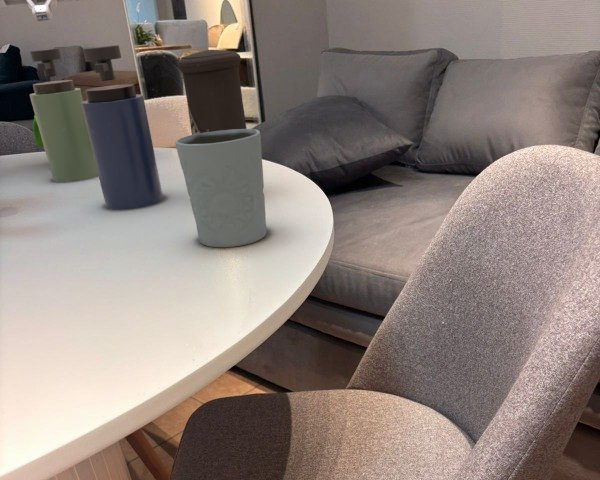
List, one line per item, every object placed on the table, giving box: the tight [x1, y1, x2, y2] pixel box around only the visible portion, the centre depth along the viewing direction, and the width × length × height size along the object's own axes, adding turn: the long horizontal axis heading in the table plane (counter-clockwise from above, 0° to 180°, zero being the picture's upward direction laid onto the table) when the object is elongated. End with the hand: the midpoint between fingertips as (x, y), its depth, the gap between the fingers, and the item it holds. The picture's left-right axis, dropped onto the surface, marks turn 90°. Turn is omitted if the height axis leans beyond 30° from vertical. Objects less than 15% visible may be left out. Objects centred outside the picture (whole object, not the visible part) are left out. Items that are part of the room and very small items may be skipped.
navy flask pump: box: [82, 44, 122, 82], centre depth 90 cm, size 8×5×4 cm, turn 7°
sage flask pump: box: [29, 47, 62, 78], centre depth 112 cm, size 8×5×4 cm, turn 7°
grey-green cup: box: [174, 128, 268, 248], centre depth 78 cm, size 10×10×12 cm
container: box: [177, 49, 247, 135], centre depth 94 cm, size 9×9×20 cm
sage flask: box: [29, 79, 99, 183], centre depth 119 cm, size 9×9×16 cm
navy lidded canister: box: [81, 83, 164, 211], centre depth 97 cm, size 9×9×16 cm
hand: (42, 17), depth 114 cm, fingers closed
